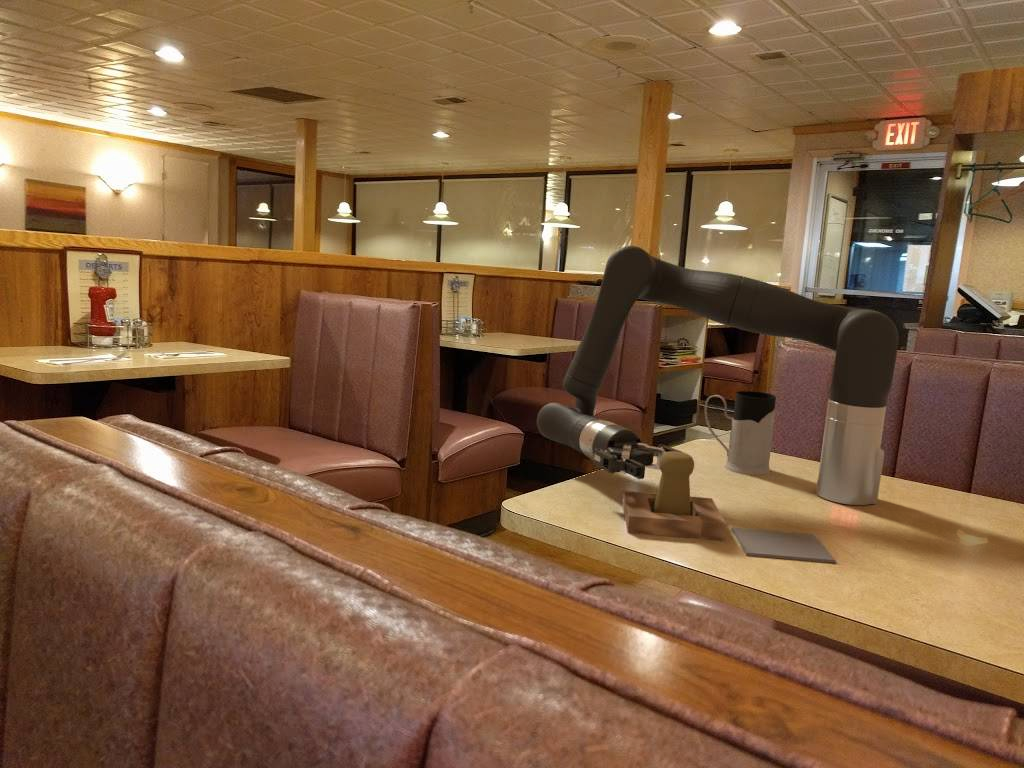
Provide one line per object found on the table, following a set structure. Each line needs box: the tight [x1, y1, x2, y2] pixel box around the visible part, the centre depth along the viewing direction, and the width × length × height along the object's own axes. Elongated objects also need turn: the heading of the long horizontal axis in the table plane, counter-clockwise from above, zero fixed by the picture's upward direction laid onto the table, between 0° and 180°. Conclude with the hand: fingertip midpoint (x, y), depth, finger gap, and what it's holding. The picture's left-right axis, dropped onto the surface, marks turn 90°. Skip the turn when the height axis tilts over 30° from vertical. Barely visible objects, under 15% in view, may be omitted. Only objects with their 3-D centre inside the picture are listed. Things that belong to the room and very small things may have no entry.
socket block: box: [622, 490, 727, 542], centre depth 116 cm, size 14×12×2 cm
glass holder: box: [704, 390, 777, 476], centre depth 150 cm, size 9×14×15 cm, turn 57°
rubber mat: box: [731, 526, 837, 564], centre depth 109 cm, size 12×10×1 cm
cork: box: [653, 451, 695, 516], centre depth 115 cm, size 6×6×11 cm
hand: (666, 470), depth 117 cm, fingers open, 8 cm apart
